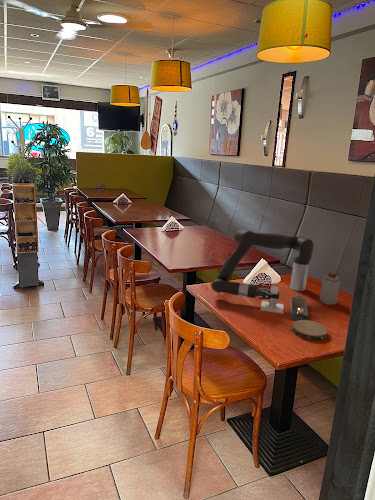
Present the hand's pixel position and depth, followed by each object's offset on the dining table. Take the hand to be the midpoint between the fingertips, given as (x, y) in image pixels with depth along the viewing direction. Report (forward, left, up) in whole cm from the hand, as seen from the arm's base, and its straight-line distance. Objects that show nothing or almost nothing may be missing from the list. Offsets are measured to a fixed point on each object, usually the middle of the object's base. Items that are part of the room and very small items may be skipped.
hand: (278, 295), depth 201 cm
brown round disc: (+27, +9, -8) cm, 30 cm away
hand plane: (+3, +11, -8) cm, 14 cm away
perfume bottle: (-13, +33, -8) cm, 36 cm away
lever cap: (-1, -3, -6) cm, 7 cm away
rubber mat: (-1, -3, -8) cm, 8 cm away
